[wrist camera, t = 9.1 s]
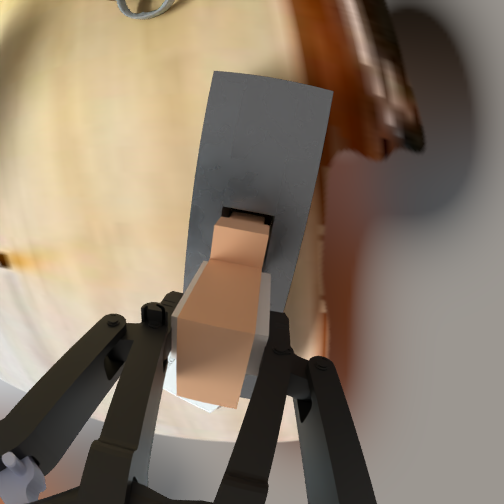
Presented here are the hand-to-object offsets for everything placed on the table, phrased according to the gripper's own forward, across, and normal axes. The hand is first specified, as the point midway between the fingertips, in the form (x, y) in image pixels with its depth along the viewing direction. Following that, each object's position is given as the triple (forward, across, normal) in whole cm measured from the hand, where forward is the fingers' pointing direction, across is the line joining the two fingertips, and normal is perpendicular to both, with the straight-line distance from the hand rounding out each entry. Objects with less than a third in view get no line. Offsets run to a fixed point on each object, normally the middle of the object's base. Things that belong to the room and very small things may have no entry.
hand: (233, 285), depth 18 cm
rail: (+7, 0, 0) cm, 7 cm away
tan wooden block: (+4, 0, 0) cm, 4 cm away
